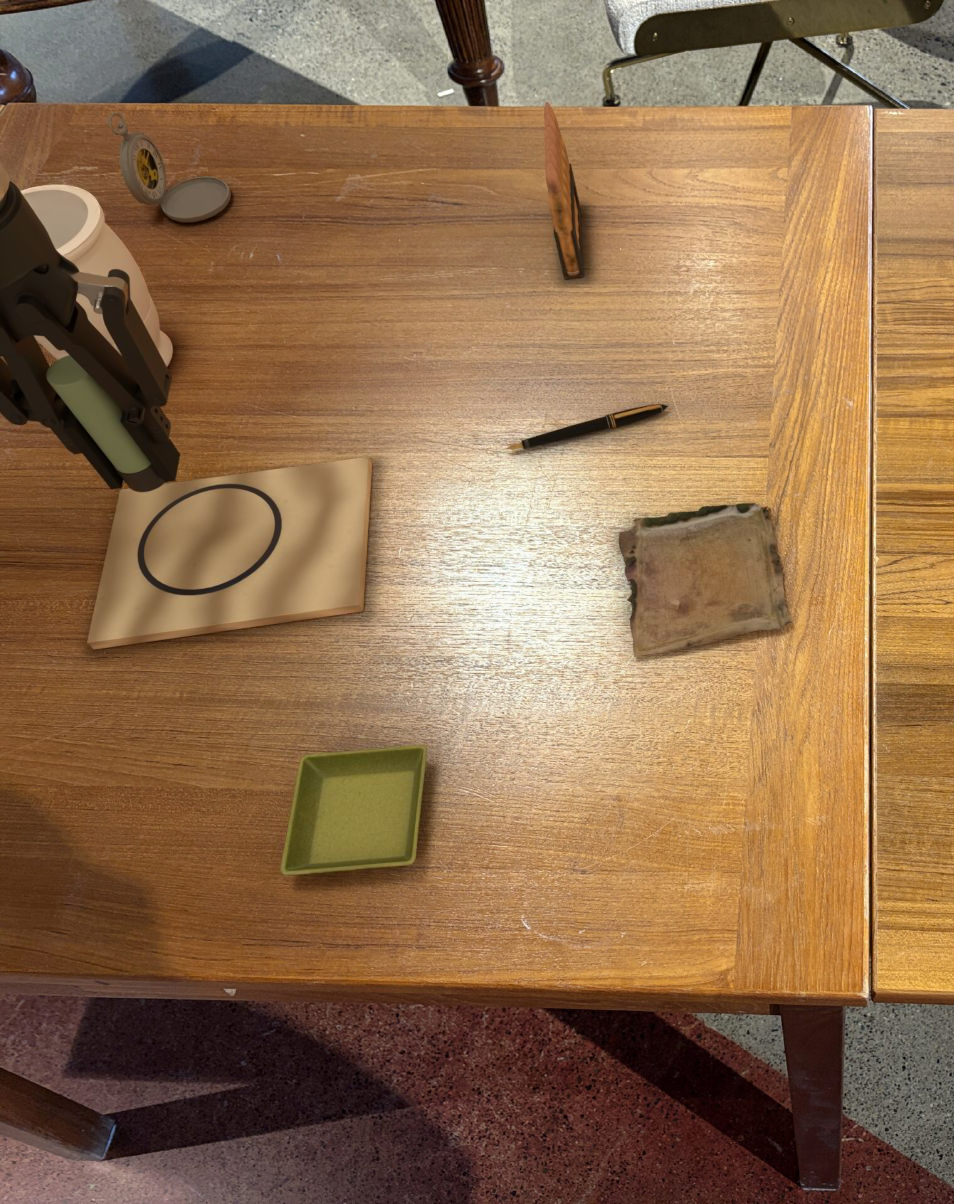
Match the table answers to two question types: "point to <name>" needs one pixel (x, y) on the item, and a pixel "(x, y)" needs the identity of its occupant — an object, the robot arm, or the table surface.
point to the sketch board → (235, 553)
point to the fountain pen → (592, 426)
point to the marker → (103, 423)
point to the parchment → (702, 577)
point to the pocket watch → (182, 199)
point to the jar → (92, 255)
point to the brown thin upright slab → (563, 199)
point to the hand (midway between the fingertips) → (145, 471)
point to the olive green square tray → (355, 810)
